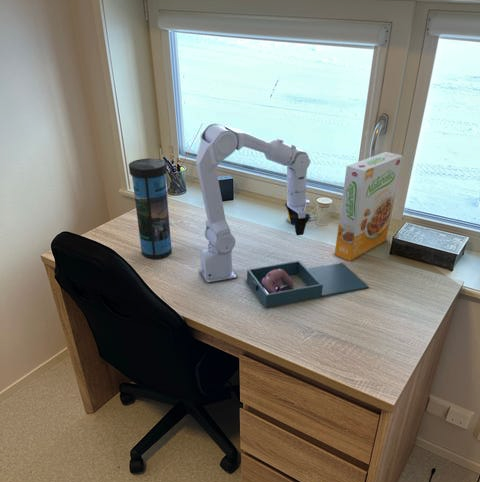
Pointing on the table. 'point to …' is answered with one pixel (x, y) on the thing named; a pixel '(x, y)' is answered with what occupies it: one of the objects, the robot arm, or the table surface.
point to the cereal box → (367, 204)
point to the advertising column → (152, 207)
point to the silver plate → (278, 289)
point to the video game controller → (276, 280)
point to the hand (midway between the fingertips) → (297, 229)
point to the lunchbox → (317, 279)
